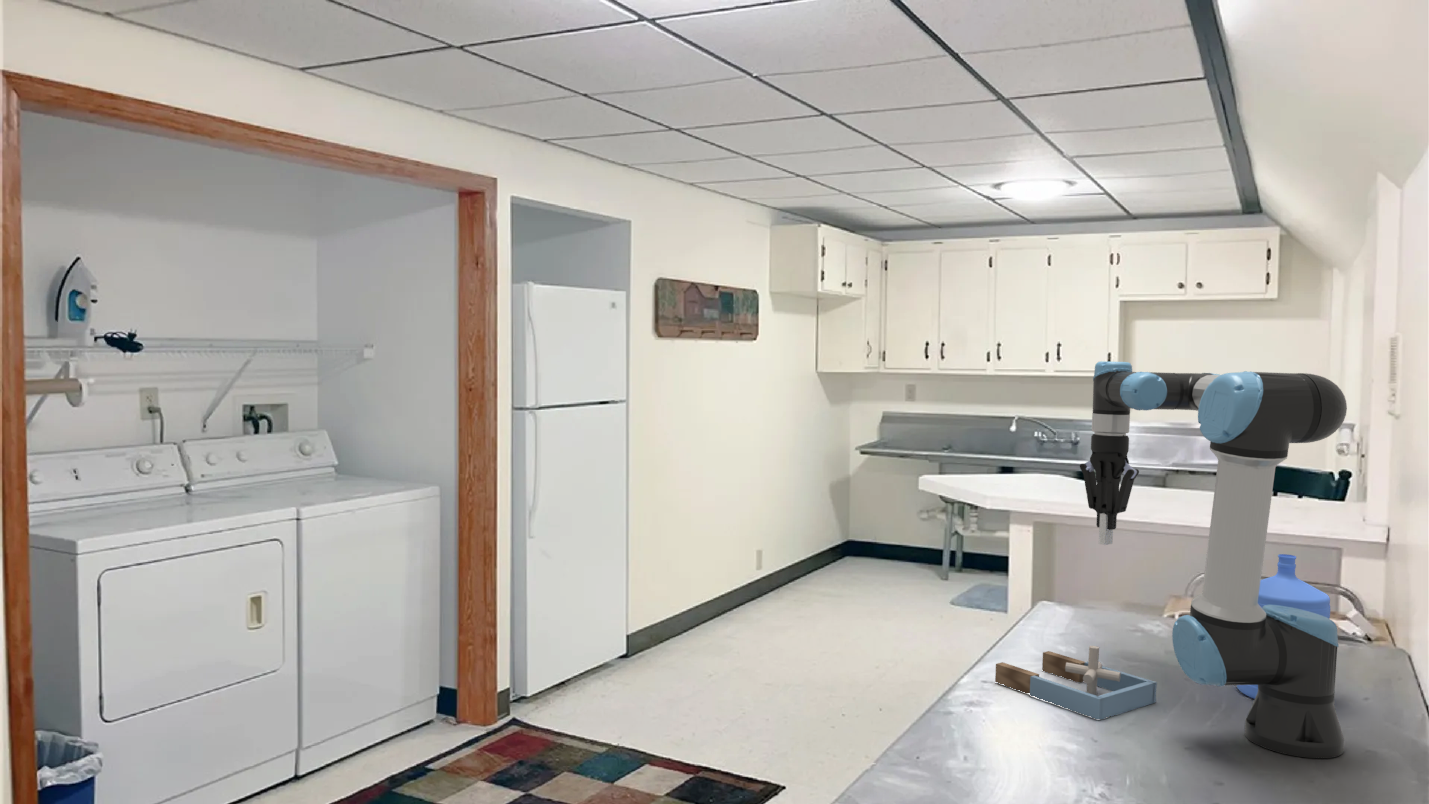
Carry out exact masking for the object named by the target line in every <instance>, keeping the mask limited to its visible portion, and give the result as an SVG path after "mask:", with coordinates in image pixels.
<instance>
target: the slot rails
mask: <svg viewBox="0 0 1429 804" xmlns="http://www.w3.org/2000/svg"><path fill="white" fill-rule="evenodd" d="M1085 662H1086V661H1084V660H1080V659H1078V658H1077V659H1076V658H1073V657H1070V656H1067V655H1063V654H1061V653H1057V652H1053V651H1050V650H1048V651H1042V662H1041V663H1042V667H1041V671H1042V670H1043V671H1045V672H1044V673H1046V672H1048V673H1047V674H1049V673H1053V674H1055V675H1054V676H1056V675H1057V676H1056V677H1059V676H1062V677H1064V678H1063V679H1065V678H1066V680H1068V679H1071V680H1073V681H1072V682H1074V681H1075V683H1077V682H1081V683H1084V682H1083V676H1084V675H1082V674H1076V673H1071V672H1066V671H1065V667H1066V663H1073V664H1078V665H1084V663H1085ZM1043 671H1042V672H1043ZM994 674H995V675H994V676H995V681H994V683H995V682H998V683H1000V684H1004V685H1005V686H1007V687H1011V688H1013V689H1016V690H1020V691H1022V692H1025V693H1030V677H1031V676H1034V675H1035V676H1038V677H1040V673H1037V672H1034V671H1031V670H1028V669H1024V668H1021V667H1019V666H1015V665H1012V664H1009V663H1006V662H998V663H995V673H994ZM1062 677H1061V678H1062ZM1071 680H1070V681H1071ZM1007 687H1006V688H1007ZM1013 689H1012V690H1013ZM1016 690H1015V691H1016ZM1022 692H1021V693H1022ZM1025 693H1024V694H1025Z"/></svg>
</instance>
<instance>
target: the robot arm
mask: <svg viewBox="0 0 1429 804" xmlns="http://www.w3.org/2000/svg"><path fill="white" fill-rule="evenodd" d="M1092 380H1093V381H1092V382H1093V384H1092V385H1093V387H1092V415H1091V431H1092V432H1094V434H1093V433H1092V435H1091V438H1090V441H1091V442H1090V451H1091V455H1090V456H1089V460H1088V461H1086V462H1085V463H1081V464H1080V465H1079V468H1080V471H1081V473H1082V474H1083V480H1084V486H1085V493H1086V499H1087V505H1088V508H1089V509H1092V510H1094V511H1095V512H1096V527H1097V528H1099V530H1098V544H1099V545H1104V546H1106V545H1112V544H1113V537H1114V534H1113V533H1114V530H1116V528H1117V516H1118V514H1120V513H1125V512H1126V511H1127V507H1128V504H1129V501H1130V496H1131V493H1132V491H1133V489H1132V488H1133V485H1134V482H1135V479H1136V478H1137V476H1138V475H1139V473H1140V470H1139V468H1138V469H1137V468H1133V467H1132V466H1131V465H1130V461H1129V459H1128V458H1129V457H1128V452H1129V448H1130V447H1129V446H1130V445H1129V444H1130V437H1129V436H1128V435H1127V434H1129V433H1130V423H1131V422H1130V419H1131V409H1134V410H1135V411H1151V410H1170V411H1171V410H1173V411H1174V410H1181V411H1183V410H1185V411H1197V420H1198V424H1200V426H1199V431H1200V433H1201V434H1202V436H1203V437H1204V438H1205V439H1206V440H1208V441H1209V443H1210V444H1209V449H1210V451H1211V452H1212V453H1213V455H1214V456H1215V457H1216V458H1217V465H1216V466H1217V467H1216V468H1217V469H1216V476H1215V483H1214V490H1213V501H1212V509H1211V516H1210V517H1211V518H1210V526H1209V534H1208V542H1207V550H1206V558H1205V566H1204V567H1205V568H1204V575H1203V576H1204V577H1203V584H1202V592H1201V593H1200V594H1199V595H1197V596H1195V597H1194V598H1193V599H1192V600H1191V603H1190V608H1189V614H1185V615H1182V616H1180V617H1178V618H1177V619H1176V620H1175V622H1174V624H1173V627H1172V631H1171V632H1172V635H1171V637H1172V639H1171V640H1172V646H1173V647H1172V648H1173V650H1174V655H1175V657H1176V659H1177V662H1178V665H1179V666H1180V668H1181V670H1182V671H1183V672H1184V675H1186V676H1187V677H1188V678H1189V679H1190V680H1191V681H1193V682H1194V683H1196V684H1199V685H1206V686H1215V687H1224V686H1237V685H1258V692H1257V695H1256V697H1255V699H1253V702H1252V705H1251V707H1250V709H1249V711H1248V713H1247V716H1246V717H1245V721H1244V736H1245V737H1246V739H1247V740H1249V741H1250V742H1252V743H1253V744H1255V745H1257V746H1260V747H1262V748H1264V749H1266V750H1270V751H1272V752H1276V753H1280V754H1284V755H1289V756H1294V757H1299V758H1308V759H1309V758H1310V759H1330V758H1336V757H1339V756H1341V755H1342V754H1343V753H1344V747H1345V738H1344V734H1343V731H1342V726H1341V723H1340V720H1339V717H1338V714H1337V711H1336V708H1335V689H1336V675H1337V674H1336V673H1337V655H1338V648H1339V639H1338V626H1337V624H1336V623H1335V622H1334V621H1333V619H1330V618H1327V617H1324V616H1322V615H1319V614H1316V613H1312V612H1309V611H1305V610H1301V609H1296V608H1291V607H1286V606H1279V605H1265V606H1263V607H1262V608H1261V607H1260V605H1259V604H1258V597H1259V589H1260V581H1261V580H1262V573H1263V567H1264V566H1263V564H1264V557H1265V549H1266V542H1267V534H1268V528H1269V527H1268V526H1269V518H1270V513H1271V505H1272V498H1273V497H1272V496H1273V488H1274V481H1275V473H1276V467H1277V466H1279V464H1281V463H1283V462H1284V461H1285V460H1287V459H1288V454H1289V447H1290V444H1307V443H1308V444H1309V443H1315V442H1318V441H1322V440H1324V439H1327V438H1328V437H1330V436H1332V435H1333V434H1334V433H1336V432H1337V431H1338V430H1339V428H1340V427H1342V424H1343V423H1344V421H1345V418H1346V416H1347V410H1348V406H1347V405H1348V404H1347V400H1346V396H1345V395H1344V392H1343V391H1342V389H1341V388H1340V387H1339V386H1338V385H1337V384H1336V382H1333V381H1332V380H1330V379H1329V378H1326V377H1324V376H1321V375H1318V374H1314V373H1313V374H1312V373H1307V372H1305V373H1304V372H1303V373H1302V372H1298V373H1297V372H1296V373H1295V372H1294V373H1290V372H1266V371H1265V372H1264V371H1263V372H1262V371H1246V370H1245V371H1240V372H1239V371H1238V372H1226V373H1223V374H1220V373H1219V374H1218V373H1212V372H1202V373H1198V372H1195V373H1194V372H1192V373H1191V372H1190V373H1189V372H1177V373H1176V372H1153V371H1152V372H1150V371H1149V372H1148V371H1133V365H1132V364H1131V362H1128V361H1105V360H1104V361H1102V360H1101V361H1098V362H1097V363H1095V366H1094V373H1093V377H1092ZM1122 474H1123V476H1122Z"/></svg>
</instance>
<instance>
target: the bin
mask: <svg viewBox="0 0 1429 804" xmlns="http://www.w3.org/2000/svg"><path fill="white" fill-rule="evenodd" d="M1084 662H1085V663H1084V666H1088V661H1084ZM1102 669H1105V670H1111V671H1116V672H1121V678H1120V682H1119V681H1113V680H1108V679H1103V678H1098V677H1097V688H1102V687H1103V688H1102V689H1105V690H1108V691H1109V692H1107V693H1104V694H1101V695H1097V694H1096V695H1093V694H1090V693H1087V691H1084V690H1080V689H1078V688H1074V687H1071V686H1068V685H1064V684H1061V683H1060V682H1056V681H1053V680H1049V679H1047V678H1043V677H1041V676H1039V677H1038V676H1035V675H1034V676H1031V677H1030V695H1031V696H1035V697H1037V698H1039V699H1043V700H1045V701H1048V702H1052V703H1054V704H1056V705H1060V706H1062V707H1064V708H1068V709H1070V710H1072V711H1076V712H1078V713H1081V714H1084V715H1087V716H1091V717H1092V718H1095V719H1102V720H1105V719H1107V718H1106V717H1108V718H1110V717H1109V716H1111V717H1114V715H1115V716H1117V714H1118V715H1121V714H1124V713H1127V712H1131V711H1133V710H1136V709H1139V708H1143V707H1146V706H1148V705H1153V704H1156V702H1157V684H1158V683H1157V681H1153V680H1150V679H1148V678H1145V677H1141V676H1137V675H1135V674H1132V673H1128V672H1125V671H1120V670H1117V669H1114V668H1111V667H1108V666H1105V665H1102ZM1110 691H1111V692H1110ZM1030 695H1029V696H1030ZM1064 708H1063V709H1064ZM1072 711H1071V712H1072ZM1078 713H1077V714H1078ZM1081 714H1080V715H1081ZM1084 715H1083V716H1084ZM1092 718H1091V719H1092ZM1104 718H1105V719H1104ZM1095 719H1094V720H1095Z"/></svg>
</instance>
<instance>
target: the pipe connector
mask: <svg viewBox="0 0 1429 804" xmlns="http://www.w3.org/2000/svg"><path fill="white" fill-rule="evenodd" d="M1088 648H1089V649H1088V661H1087V662H1088V666H1084V665H1078V664H1073V663H1066V667H1065V671H1066V672H1071V673H1076V674H1082V675H1084V676H1083V681H1084V682H1083V683H1085V684H1086V692H1087V693H1090V694H1093V695H1096V696H1097V690H1098V686H1097V677H1098V678H1103V679H1108V680H1113V681H1119V682H1120V678H1121V672H1122V671H1121V672H1116V671H1111V670H1105V669H1102V666H1103V664H1102V663H1101V662H1100V661H1099V656H1100V647H1099V646H1097V645H1089V647H1088Z"/></svg>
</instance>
